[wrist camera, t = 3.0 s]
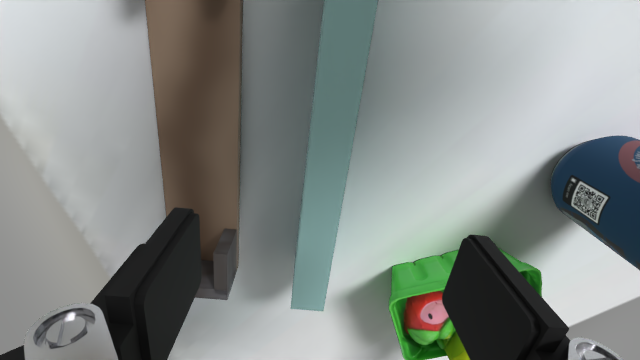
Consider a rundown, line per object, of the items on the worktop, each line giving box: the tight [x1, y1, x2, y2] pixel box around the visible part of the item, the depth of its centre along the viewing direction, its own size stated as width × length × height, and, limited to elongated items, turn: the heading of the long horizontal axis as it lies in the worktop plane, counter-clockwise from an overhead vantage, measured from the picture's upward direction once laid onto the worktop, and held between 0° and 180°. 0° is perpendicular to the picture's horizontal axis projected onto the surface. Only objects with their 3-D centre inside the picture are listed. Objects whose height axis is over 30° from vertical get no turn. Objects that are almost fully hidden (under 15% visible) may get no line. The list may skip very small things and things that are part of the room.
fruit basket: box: [389, 248, 542, 360], centre depth 25 cm, size 11×9×11 cm
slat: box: [291, 0, 378, 311], centre depth 21 cm, size 24×2×6 cm, turn 173°
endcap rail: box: [145, 0, 243, 300], centre depth 21 cm, size 6×27×4 cm, turn 173°
